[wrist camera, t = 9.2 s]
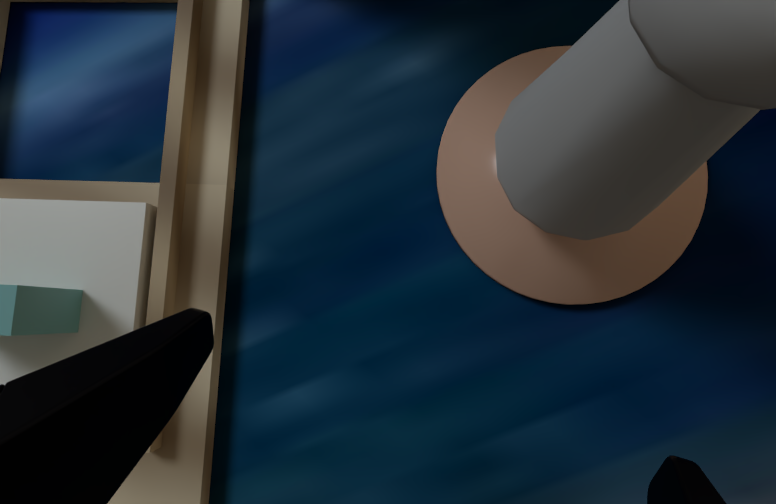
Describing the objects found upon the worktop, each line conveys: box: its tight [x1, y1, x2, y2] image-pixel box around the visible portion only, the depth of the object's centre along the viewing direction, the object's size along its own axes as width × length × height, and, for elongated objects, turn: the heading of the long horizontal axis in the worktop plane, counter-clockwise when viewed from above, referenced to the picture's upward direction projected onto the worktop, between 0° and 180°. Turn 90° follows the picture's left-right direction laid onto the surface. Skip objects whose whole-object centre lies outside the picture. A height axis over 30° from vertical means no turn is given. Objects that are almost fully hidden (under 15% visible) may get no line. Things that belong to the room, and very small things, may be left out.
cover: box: [0, 198, 157, 385], centre depth 17 cm, size 8×8×4 cm
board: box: [0, 0, 250, 504], centre depth 19 cm, size 27×13×2 cm, turn 178°
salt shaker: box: [495, 0, 776, 240], centre depth 13 cm, size 6×6×13 cm
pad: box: [436, 46, 708, 305], centre depth 19 cm, size 10×10×1 cm
